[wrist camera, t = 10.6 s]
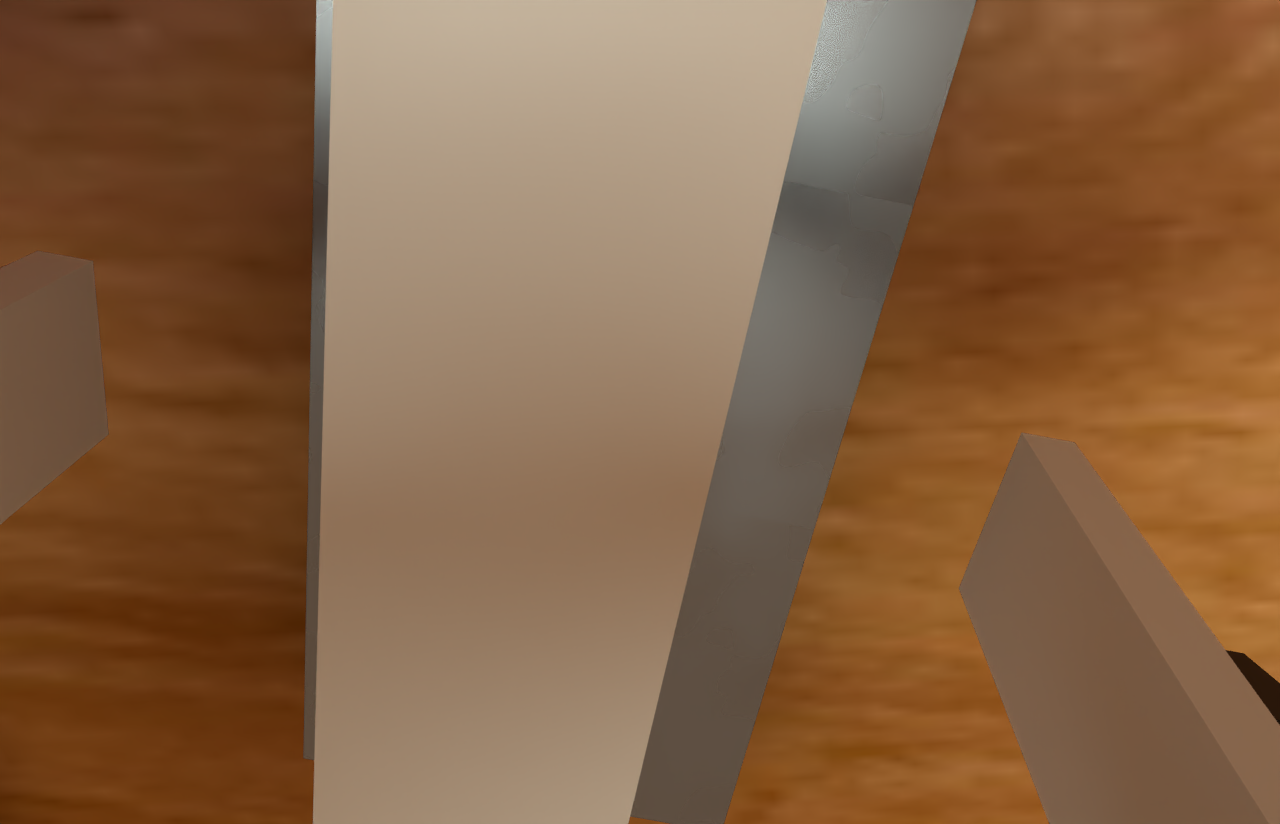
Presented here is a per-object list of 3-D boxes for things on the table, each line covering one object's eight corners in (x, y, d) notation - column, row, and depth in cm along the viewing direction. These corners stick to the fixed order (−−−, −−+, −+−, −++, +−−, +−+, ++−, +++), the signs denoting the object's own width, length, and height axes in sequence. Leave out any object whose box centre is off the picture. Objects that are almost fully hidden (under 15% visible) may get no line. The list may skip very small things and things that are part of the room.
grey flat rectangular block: (719, 752, 25) (721, 832, 23) (340, 684, 25) (303, 758, 22) (1058, -416, 14) (1123, -481, 12) (389, -551, 14) (327, -644, 12)
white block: (635, 577, 23) (586, 997, 14) (468, 547, 23) (309, 948, 14) (773, -79, 16) (849, -95, 7) (542, -124, 16) (338, -195, 7)
